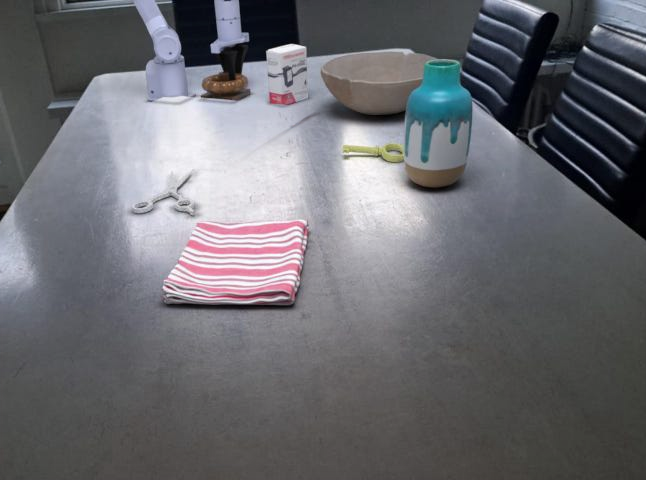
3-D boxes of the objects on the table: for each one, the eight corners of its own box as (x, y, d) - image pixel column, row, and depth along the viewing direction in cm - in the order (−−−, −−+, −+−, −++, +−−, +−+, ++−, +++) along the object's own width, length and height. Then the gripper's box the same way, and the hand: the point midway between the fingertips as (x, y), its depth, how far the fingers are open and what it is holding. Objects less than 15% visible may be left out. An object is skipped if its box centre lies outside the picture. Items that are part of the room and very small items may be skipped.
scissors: (128, 213, 109) (154, 168, 126) (128, 217, 110) (154, 172, 126) (193, 211, 109) (211, 166, 125) (194, 215, 109) (212, 171, 125)
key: (339, 155, 129) (339, 144, 128) (401, 148, 131) (401, 137, 130) (349, 168, 123) (349, 156, 122) (414, 160, 125) (415, 149, 124)
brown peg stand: (200, 100, 168) (197, 75, 165) (220, 91, 174) (217, 67, 171) (232, 103, 164) (229, 78, 161) (250, 93, 171) (248, 69, 167)
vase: (426, 168, 121) (434, 52, 110) (478, 182, 115) (492, 60, 104) (388, 186, 115) (392, 65, 104) (441, 201, 109) (451, 74, 98)
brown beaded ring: (193, 92, 166) (192, 81, 165) (218, 81, 174) (217, 70, 173) (232, 96, 162) (231, 84, 160) (256, 84, 170) (255, 73, 168)
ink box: (283, 106, 159) (280, 52, 152) (268, 103, 162) (265, 49, 156) (309, 98, 164) (307, 45, 157) (294, 95, 167) (292, 43, 160)
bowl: (463, 105, 153) (467, 57, 147) (398, 137, 137) (400, 84, 131) (366, 90, 167) (366, 46, 161) (297, 118, 151) (295, 70, 145)
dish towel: (160, 309, 86) (155, 284, 84) (200, 230, 105) (197, 208, 103) (295, 311, 84) (294, 286, 82) (311, 230, 103) (310, 208, 101)
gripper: (226, 24, 156) (232, 86, 164) (257, 13, 166) (261, 72, 174) (200, 23, 159) (207, 84, 166) (232, 12, 169) (238, 71, 177)
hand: (233, 78), depth 170 cm, fingers closed on brown beaded ring, 3 cm apart
